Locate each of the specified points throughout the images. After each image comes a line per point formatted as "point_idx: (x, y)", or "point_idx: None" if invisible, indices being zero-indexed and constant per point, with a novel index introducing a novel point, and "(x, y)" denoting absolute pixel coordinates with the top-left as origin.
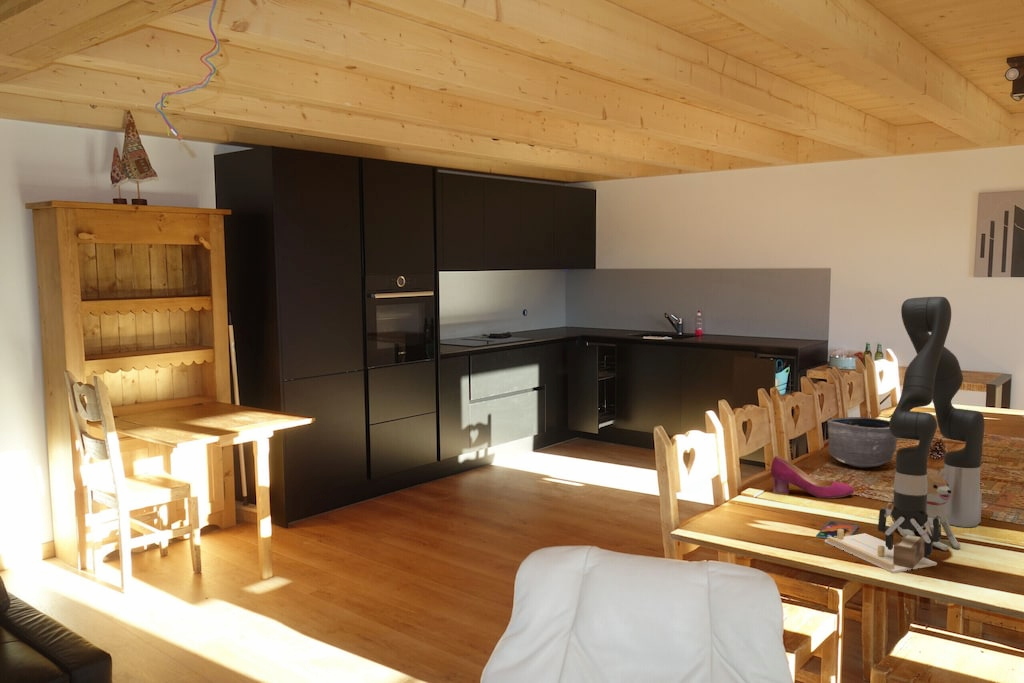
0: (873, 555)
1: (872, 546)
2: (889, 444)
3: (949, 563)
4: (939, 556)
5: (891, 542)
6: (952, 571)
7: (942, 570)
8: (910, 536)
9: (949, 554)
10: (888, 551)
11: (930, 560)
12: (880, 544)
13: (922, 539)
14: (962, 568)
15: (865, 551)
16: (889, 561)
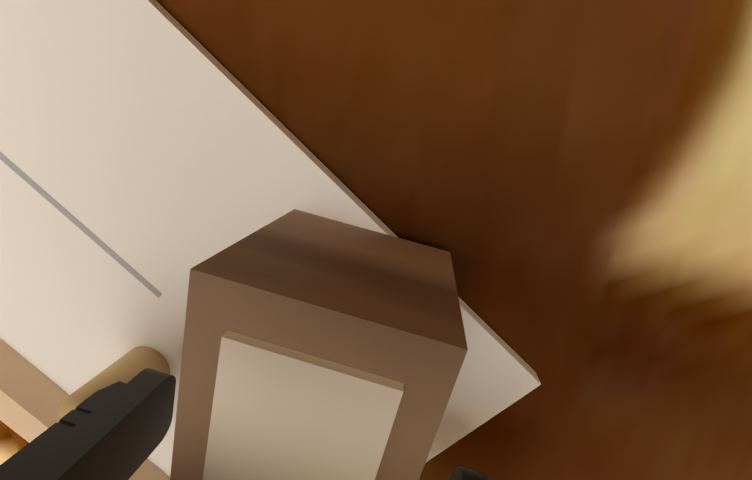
0: None
1: (42, 166)
2: None
3: (652, 302)
4: (599, 140)
5: (118, 475)
6: (631, 461)
7: (558, 459)
8: (262, 398)
9: (729, 23)
10: (173, 245)
11: (494, 348)
12: (79, 75)
13: (429, 433)
14: (738, 384)
15: (32, 415)
16: None
